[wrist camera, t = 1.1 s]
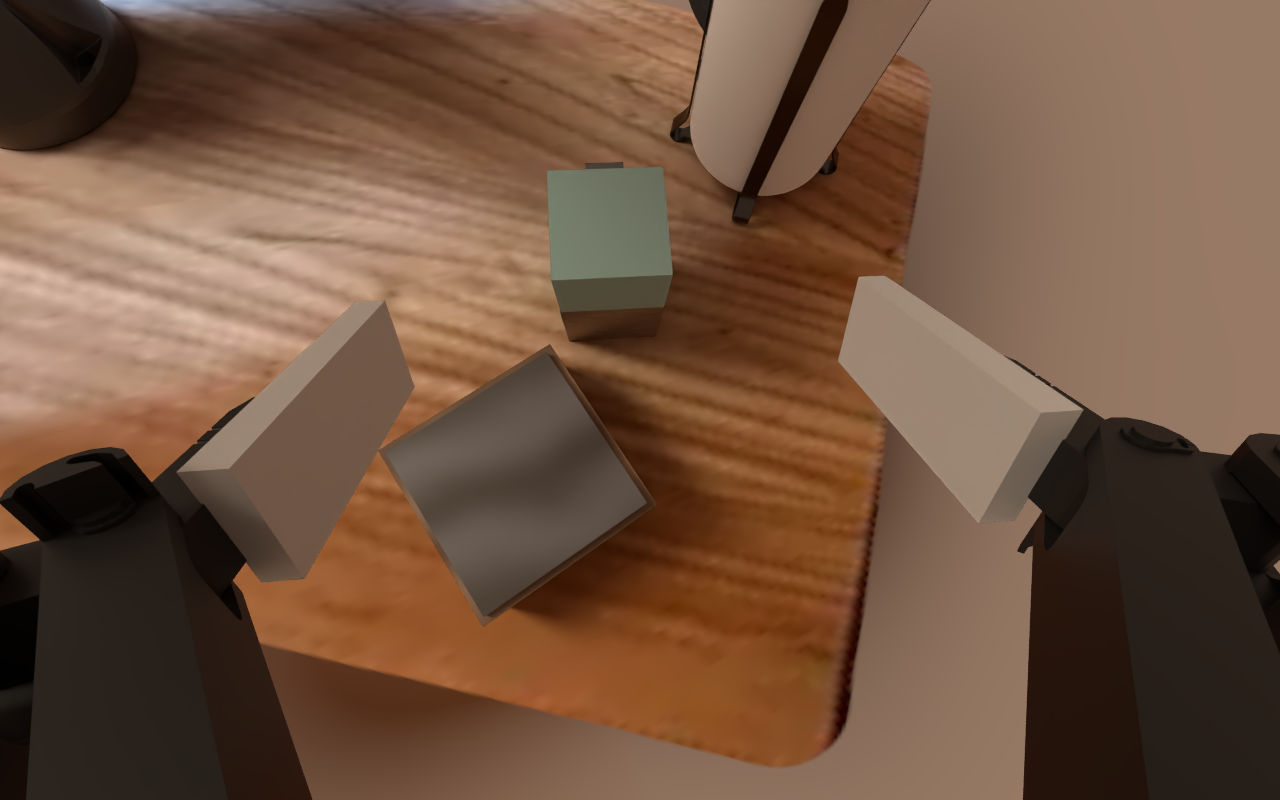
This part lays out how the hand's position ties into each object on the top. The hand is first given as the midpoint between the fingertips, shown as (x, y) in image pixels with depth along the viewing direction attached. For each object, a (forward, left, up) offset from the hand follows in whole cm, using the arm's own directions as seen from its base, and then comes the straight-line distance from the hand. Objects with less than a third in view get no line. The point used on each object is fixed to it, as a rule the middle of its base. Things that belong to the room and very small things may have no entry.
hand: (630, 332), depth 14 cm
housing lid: (-10, +5, -18) cm, 21 cm away
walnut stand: (-1, -8, -24) cm, 25 cm away
